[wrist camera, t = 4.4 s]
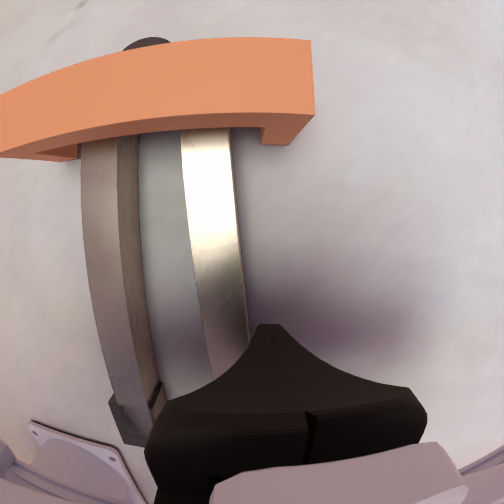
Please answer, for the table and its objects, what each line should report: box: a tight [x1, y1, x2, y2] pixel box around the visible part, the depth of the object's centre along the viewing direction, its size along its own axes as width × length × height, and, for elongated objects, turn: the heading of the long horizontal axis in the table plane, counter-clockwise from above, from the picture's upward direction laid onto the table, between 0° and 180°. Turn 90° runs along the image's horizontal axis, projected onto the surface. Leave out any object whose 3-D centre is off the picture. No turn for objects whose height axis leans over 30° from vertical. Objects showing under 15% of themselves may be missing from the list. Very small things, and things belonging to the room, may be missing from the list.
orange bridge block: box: [0, 37, 315, 162], centre depth 8 cm, size 2×10×4 cm, turn 90°
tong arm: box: [180, 127, 251, 381], centre depth 11 cm, size 14×2×2 cm, turn 5°
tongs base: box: [81, 37, 171, 448], centre depth 10 cm, size 17×4×3 cm, turn 0°
